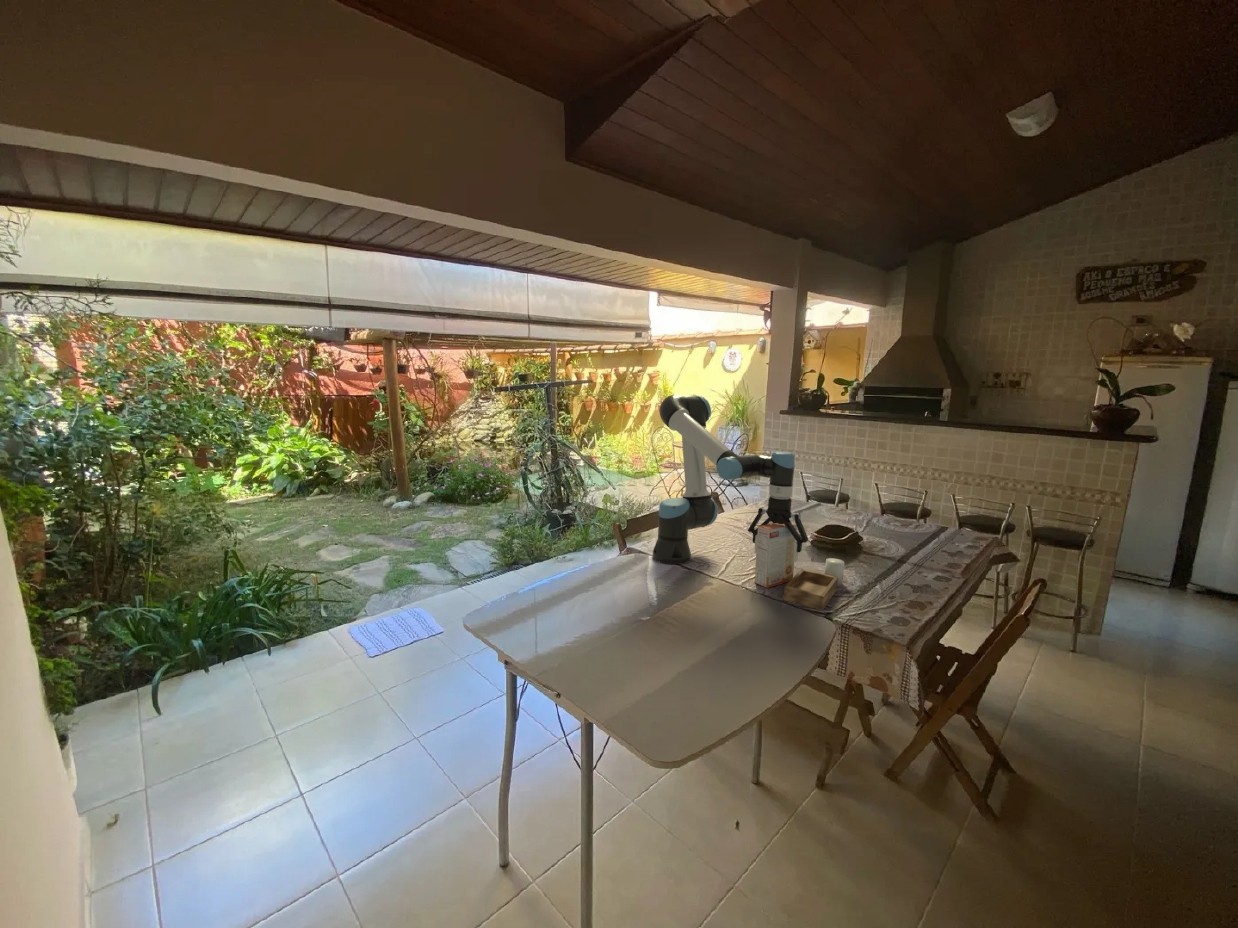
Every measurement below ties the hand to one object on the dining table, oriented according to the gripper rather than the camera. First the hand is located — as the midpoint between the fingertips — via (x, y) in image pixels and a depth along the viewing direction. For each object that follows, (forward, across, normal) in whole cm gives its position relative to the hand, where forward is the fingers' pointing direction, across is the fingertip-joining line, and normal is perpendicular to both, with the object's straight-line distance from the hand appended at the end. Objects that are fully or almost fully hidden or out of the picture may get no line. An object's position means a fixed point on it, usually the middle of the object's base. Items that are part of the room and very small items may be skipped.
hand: (775, 556), depth 170 cm
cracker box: (+10, 0, 0) cm, 10 cm away
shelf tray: (+9, +13, -3) cm, 17 cm away
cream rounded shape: (+10, +17, +13) cm, 23 cm away
